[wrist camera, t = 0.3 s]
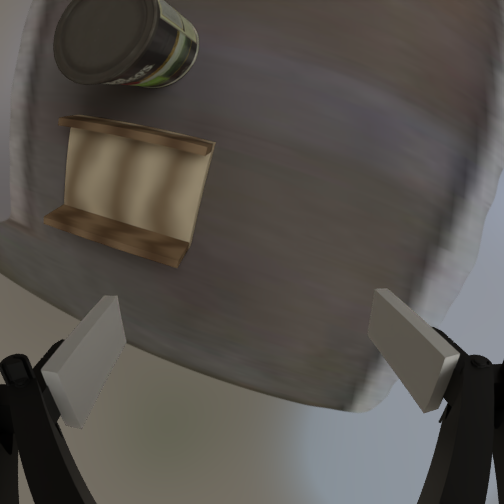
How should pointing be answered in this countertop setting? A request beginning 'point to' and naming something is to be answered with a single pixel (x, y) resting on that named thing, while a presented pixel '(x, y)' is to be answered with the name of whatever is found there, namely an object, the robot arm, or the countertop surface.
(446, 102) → the countertop surface
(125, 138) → the curved wooden tray
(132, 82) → the coffee can
